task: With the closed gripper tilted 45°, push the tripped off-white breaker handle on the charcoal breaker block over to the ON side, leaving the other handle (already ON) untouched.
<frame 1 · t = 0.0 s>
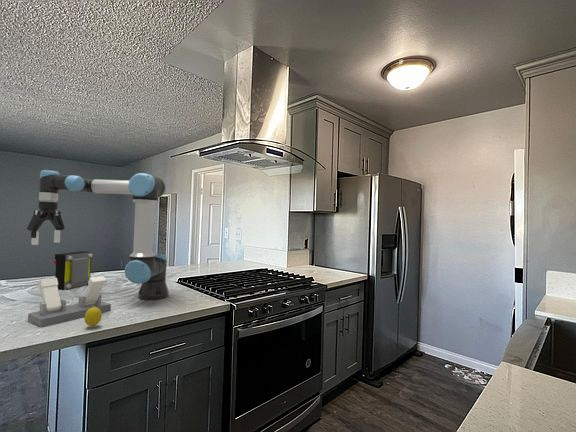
hand: (46, 243, 150), 28 cm above the countertop, tool pointing down, fingers open, 13 cm apart
lemon: (92, 327, 116), on the countertop
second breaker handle: (93, 290, 132), point 10 cm above the countertop, hinge at 30.0°
electrical component: (73, 286, 178), on the countertop
tripped breaker handle: (50, 295, 123), point 10 cm above the countertop, hinge at -30.0°
breaker block: (71, 315, 128), on the countertop
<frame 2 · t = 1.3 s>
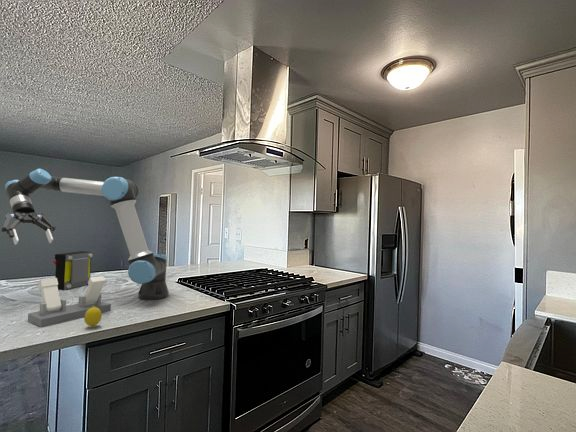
hand: (34, 241, 132), 30 cm above the countertop, tool tilted 45°, fingers open, 12 cm apart
nothing on the countertop moved.
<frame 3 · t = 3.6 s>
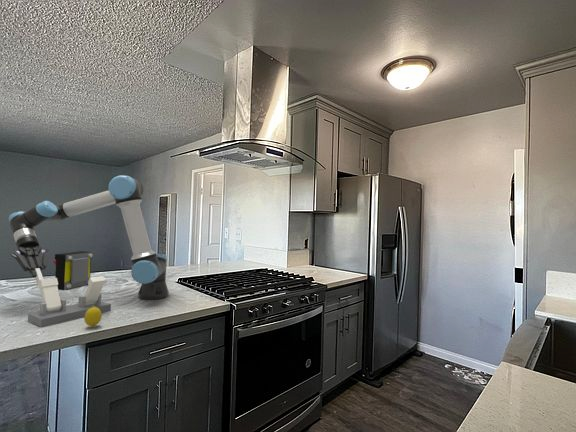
hand: (40, 282, 128), 14 cm above the countertop, tool tilted 45°, fingers closed
nothing on the countertop moved.
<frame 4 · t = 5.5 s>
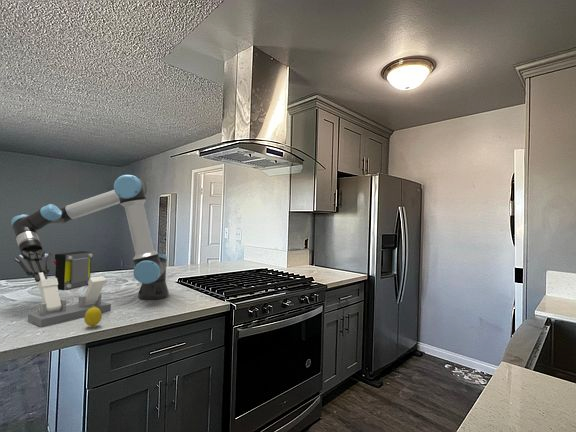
hand: (44, 286, 125), 12 cm above the countertop, tool tilted 45°, fingers closed
tripped breaker handle: (50, 295, 123), point 10 cm above the countertop, hinge at -30.0°, touching gripper
everything else where it was.
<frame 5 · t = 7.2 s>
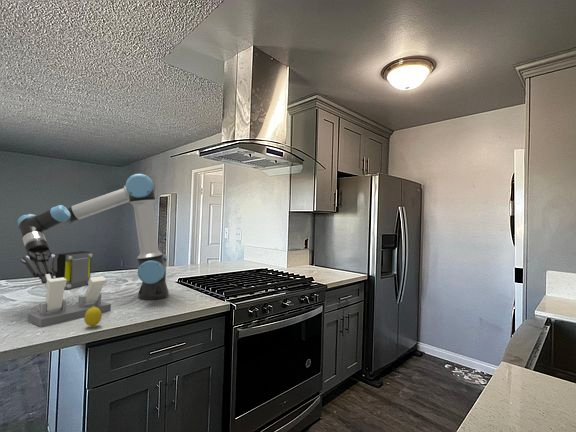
hand: (50, 288, 121), 13 cm above the countertop, tool tilted 45°, fingers closed
tripped breaker handle: (54, 295, 121), point 10 cm above the countertop, hinge at 11.5°, touching gripper
everything else where it was.
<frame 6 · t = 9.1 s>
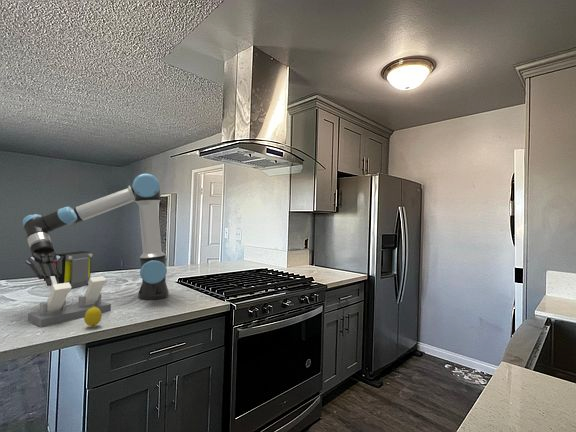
hand: (55, 291, 120), 12 cm above the countertop, tool tilted 45°, fingers closed
tripped breaker handle: (57, 298, 120), point 9 cm above the countertop, hinge at 35.3°, touching gripper
everything else where it was.
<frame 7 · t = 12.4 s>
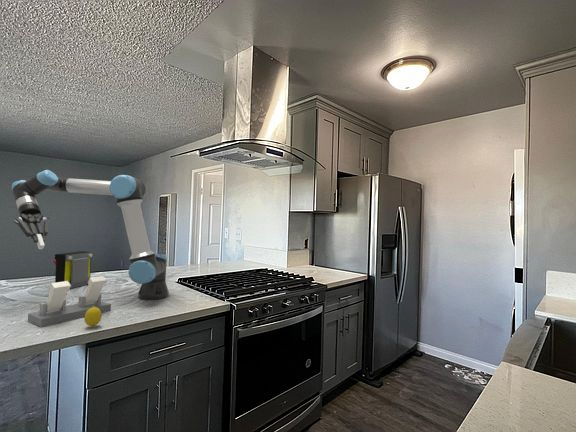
hand: (41, 247, 132), 28 cm above the countertop, tool tilted 45°, fingers closed
tripped breaker handle: (56, 297, 120), point 10 cm above the countertop, hinge at 30.4°
everything else where it was.
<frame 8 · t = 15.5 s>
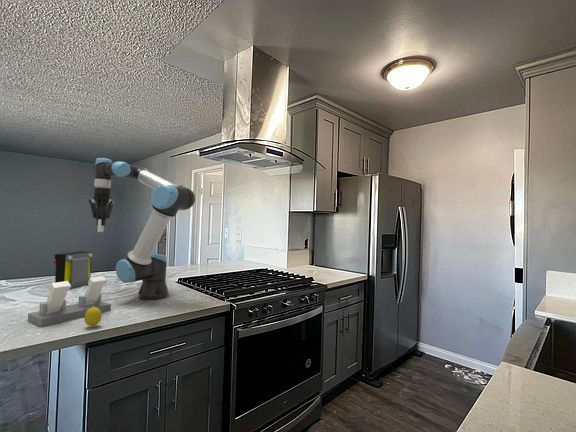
hand: (100, 231, 159), 34 cm above the countertop, tool pointing down, fingers closed
nothing on the countertop moved.
at the end: tripped breaker handle at +30° (first picture: -30°); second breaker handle at +30° (first picture: +30°) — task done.
